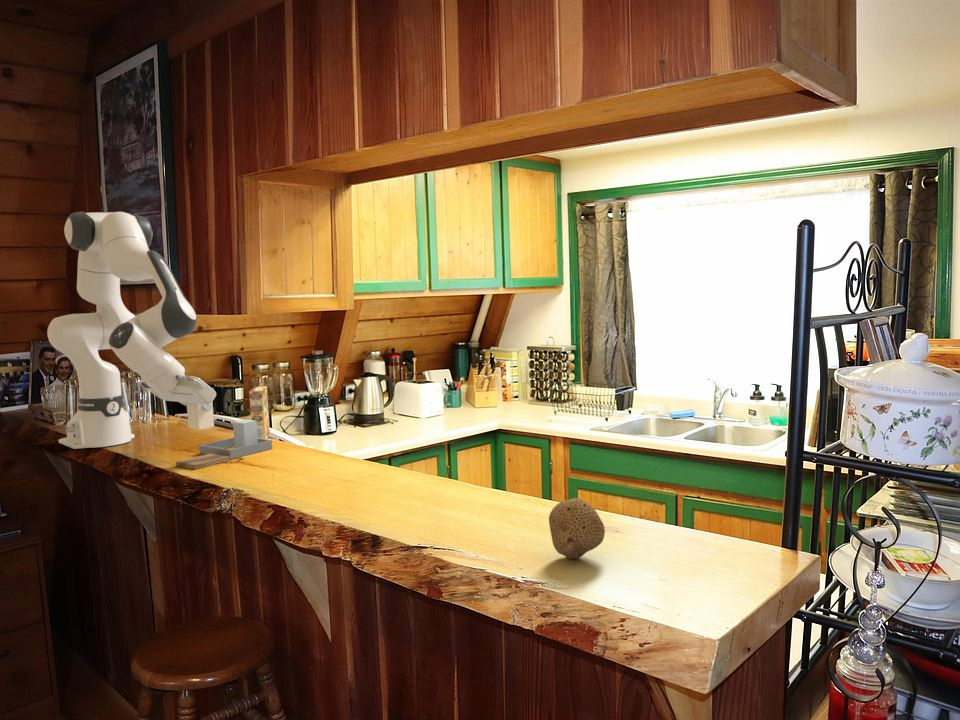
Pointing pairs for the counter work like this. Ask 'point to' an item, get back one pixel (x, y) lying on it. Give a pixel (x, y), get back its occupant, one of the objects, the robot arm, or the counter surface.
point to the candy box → (260, 411)
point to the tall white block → (245, 433)
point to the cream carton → (199, 416)
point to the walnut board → (202, 461)
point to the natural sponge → (575, 528)
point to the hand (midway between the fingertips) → (202, 408)
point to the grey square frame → (236, 452)
